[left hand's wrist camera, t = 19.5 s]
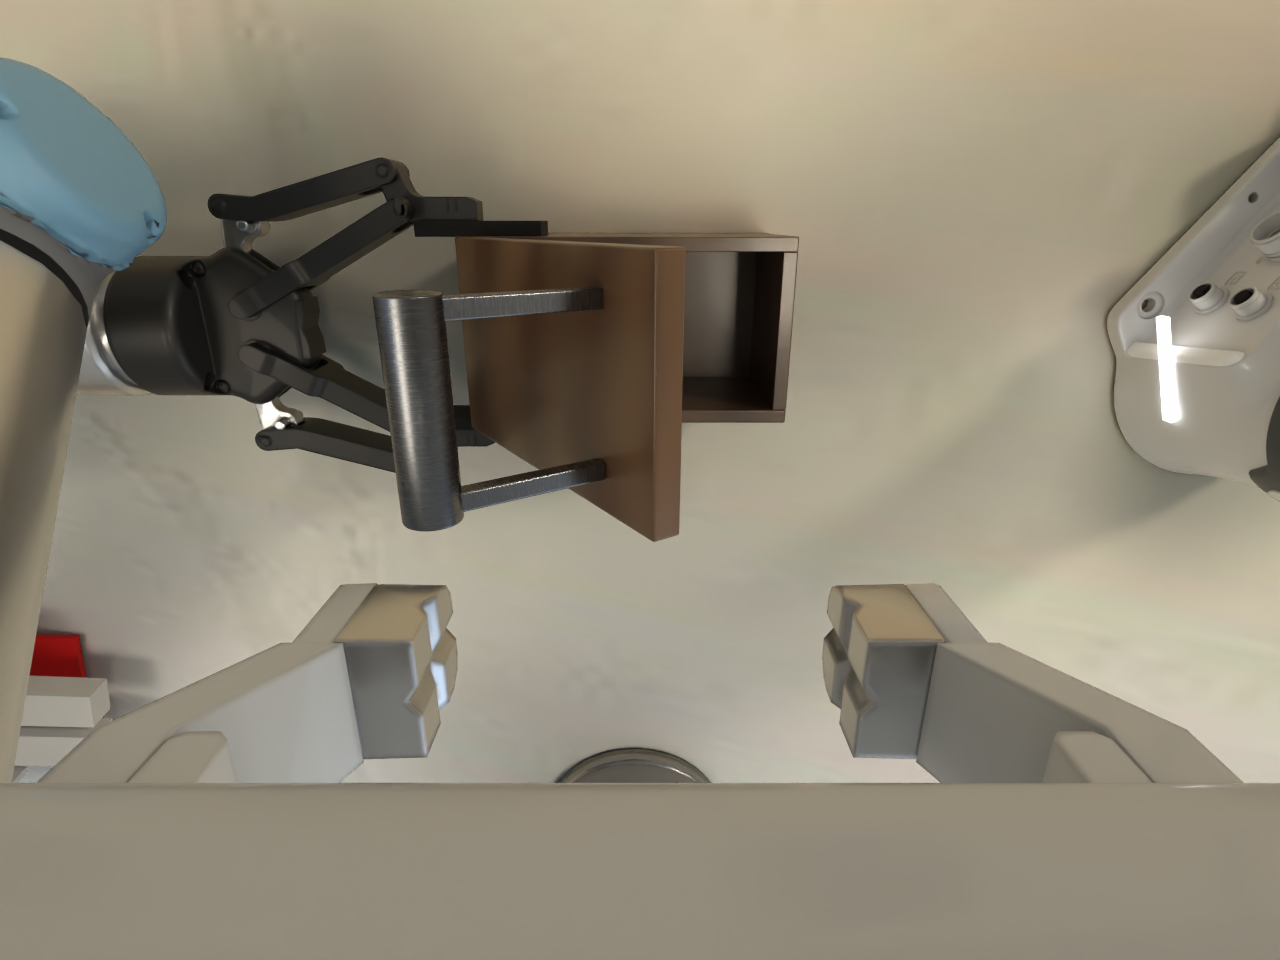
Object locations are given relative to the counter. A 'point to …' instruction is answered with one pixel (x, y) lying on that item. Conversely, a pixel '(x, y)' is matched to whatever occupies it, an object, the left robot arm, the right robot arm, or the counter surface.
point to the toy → (58, 703)
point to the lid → (543, 378)
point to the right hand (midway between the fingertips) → (549, 327)
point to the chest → (728, 319)
